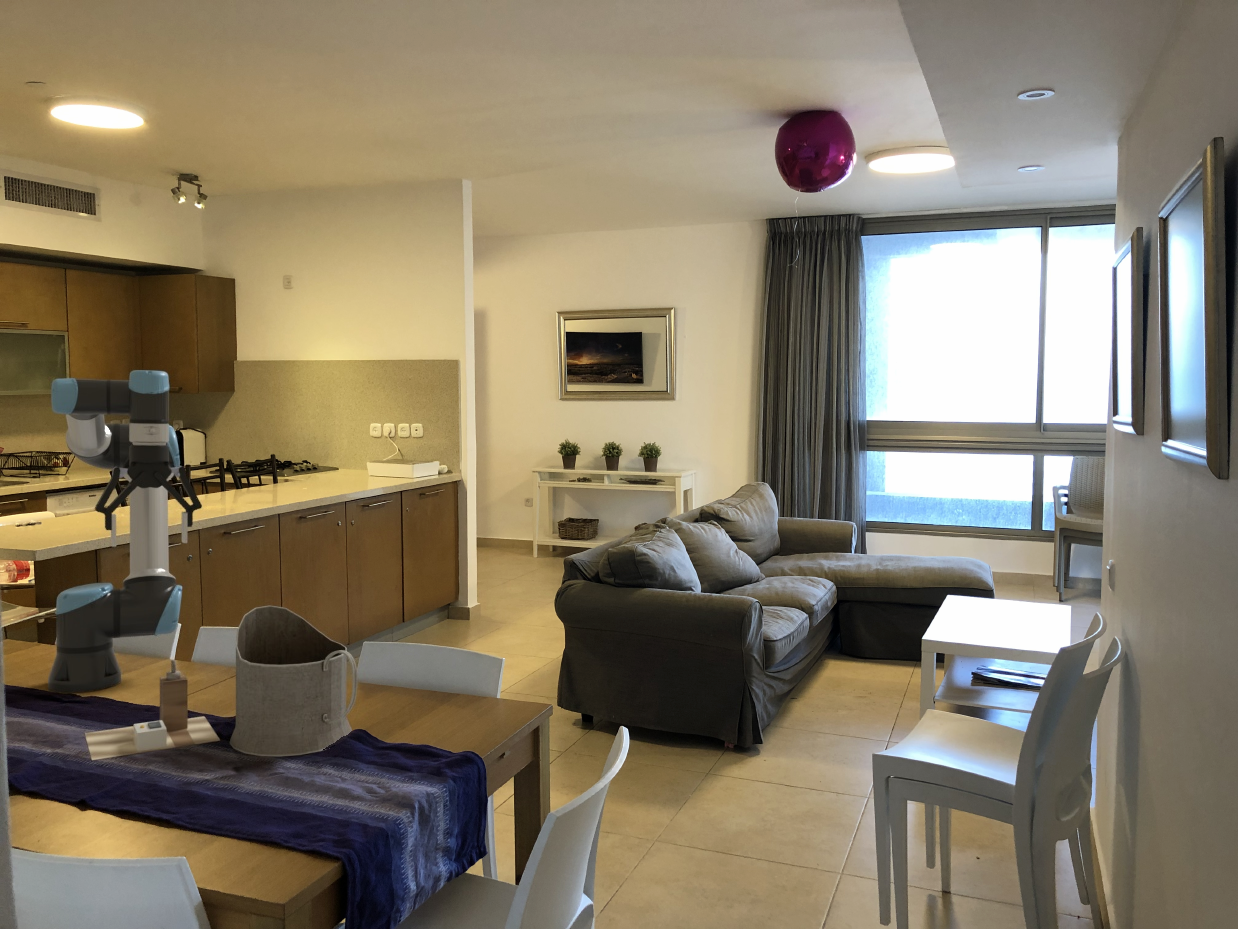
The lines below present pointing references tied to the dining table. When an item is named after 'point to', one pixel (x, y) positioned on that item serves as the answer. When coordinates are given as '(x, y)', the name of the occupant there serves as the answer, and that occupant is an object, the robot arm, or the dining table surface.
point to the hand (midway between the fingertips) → (149, 544)
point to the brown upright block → (174, 699)
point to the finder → (150, 735)
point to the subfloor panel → (123, 744)
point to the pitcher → (289, 685)
